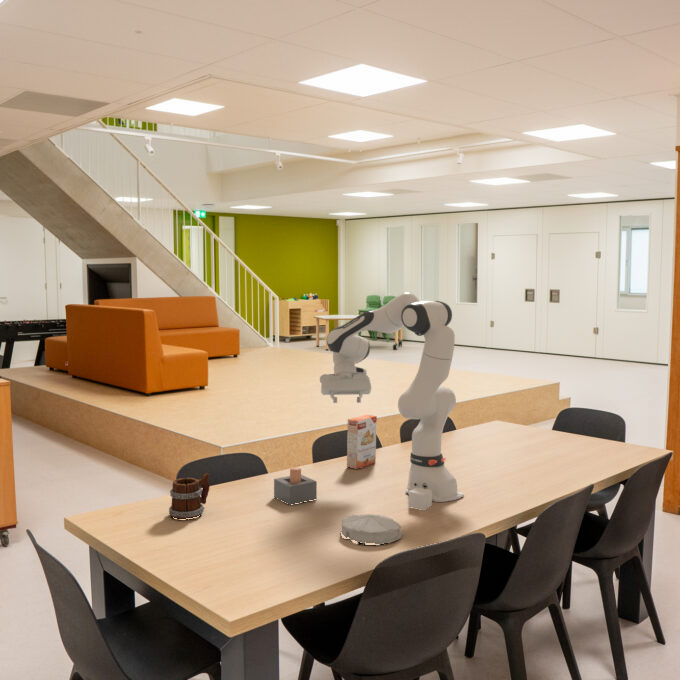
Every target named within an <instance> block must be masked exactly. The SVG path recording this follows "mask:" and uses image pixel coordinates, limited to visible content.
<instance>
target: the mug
mask: <svg viewBox="0 0 680 680" xmlns="http://www.w3.org/2000/svg"><path fill="white" fill-rule="evenodd" d="M209 477H210V473H208V472H207V473H205V472H204V474H203V475H202V476H201V477H200V478H199V479H197V478H195V477H186V478H184V477H181V478H177V479H175V480H173V481H172V488H171V489H170V490H169V491H170V492H169V493H170V497H171V505H170V506H169V507H168V514H169V515H170V517H171V516H172V517H174V518H177V519H186V518H193V517H197V516H199V515H201V514H202V515H203V512H204V511H205V506H204V505H205V504H206V503H207V498H208V494H209V491H210V487H211V485H210V481H209ZM200 486H201V487H200ZM202 515H201V516H202Z"/></svg>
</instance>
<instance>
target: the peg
mask: <svg viewBox="0 0 680 680" xmlns="http://www.w3.org/2000/svg"><path fill="white" fill-rule="evenodd" d="M289 469H290V470H289V476H290V483H292V484H294V483H299V482H301V475H302V468H300V467H291V468H289Z"/></svg>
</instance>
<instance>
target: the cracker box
mask: <svg viewBox="0 0 680 680" xmlns="http://www.w3.org/2000/svg"><path fill="white" fill-rule="evenodd" d="M377 419H378V418H377V416H376V415H373V414H372V415H371V414H364V415H360V416H356V417H352V418H349V419H348V418H347V438H346V439H347V440H346V441H347V442H346V445H347V446H346V448H347V449H346V450H347V451H346V468H348V467H350V469H353V468H354V470H359V469H358V468H360V469H361V467H363V468H365V467H368V466H371V465H374V464H376V458H377V456H376V455H377V453H376V451H377V424H378V423H377ZM373 463H374V464H373ZM370 464H371V465H370ZM367 465H368V466H367ZM364 466H365V467H364Z"/></svg>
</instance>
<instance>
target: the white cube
mask: <svg viewBox="0 0 680 680" xmlns="http://www.w3.org/2000/svg"><path fill="white" fill-rule="evenodd" d="M432 505H433V501H432V490H428V489H423V488H418V487H417V488H415V489H413V490H411V491H409V494H408V508H409V507H413V508H417V509H421V510H425V509H427V508H428V509H430V508H431V507H430V506H432ZM429 507H430V508H429ZM428 509H427V510H428ZM421 510H420V511H421ZM425 511H426V510H425Z"/></svg>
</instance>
